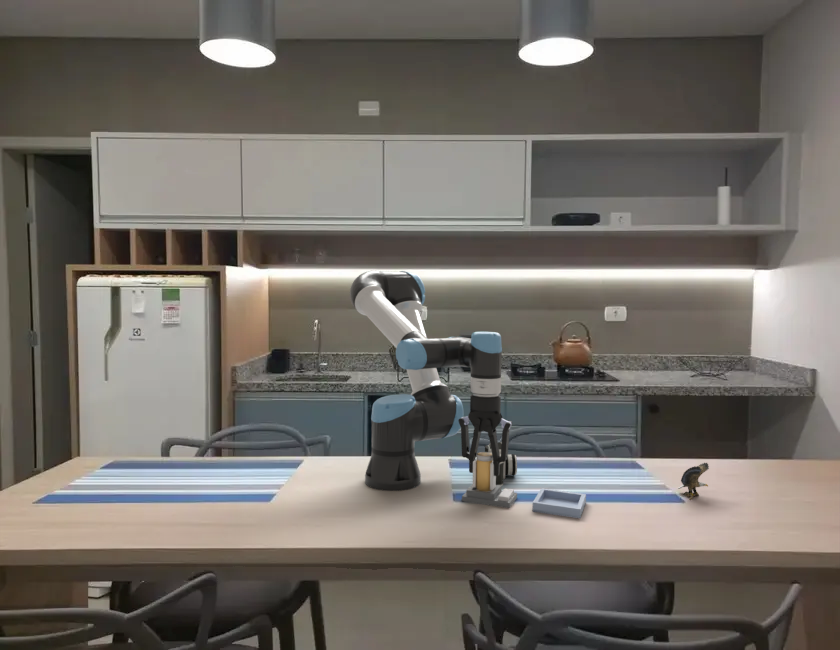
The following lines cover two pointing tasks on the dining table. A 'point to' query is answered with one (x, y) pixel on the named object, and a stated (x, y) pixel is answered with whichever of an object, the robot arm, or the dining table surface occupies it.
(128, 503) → the dining table surface
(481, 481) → the fuse
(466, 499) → the fuse block
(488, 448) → the camera
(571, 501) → the parts tray
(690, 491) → the eagle figurine
